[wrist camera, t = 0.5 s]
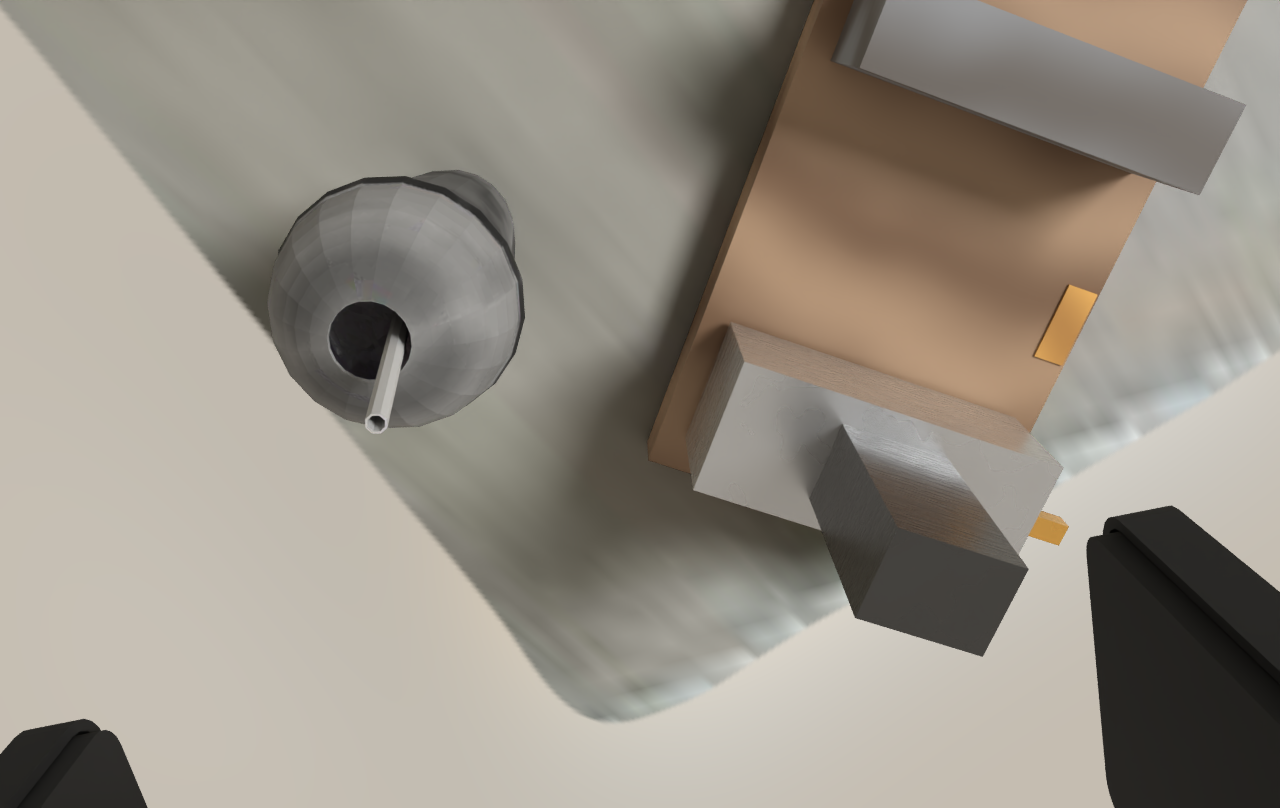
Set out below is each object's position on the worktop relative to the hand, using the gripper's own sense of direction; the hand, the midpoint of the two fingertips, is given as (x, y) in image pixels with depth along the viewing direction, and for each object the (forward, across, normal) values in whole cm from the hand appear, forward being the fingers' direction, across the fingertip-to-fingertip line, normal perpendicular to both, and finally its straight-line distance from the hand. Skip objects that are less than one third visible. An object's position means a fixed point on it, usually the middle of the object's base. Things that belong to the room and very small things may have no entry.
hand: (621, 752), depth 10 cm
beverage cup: (+34, +6, -1) cm, 34 cm away
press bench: (+34, -12, +3) cm, 36 cm away
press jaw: (+32, -8, +10) cm, 34 cm away
